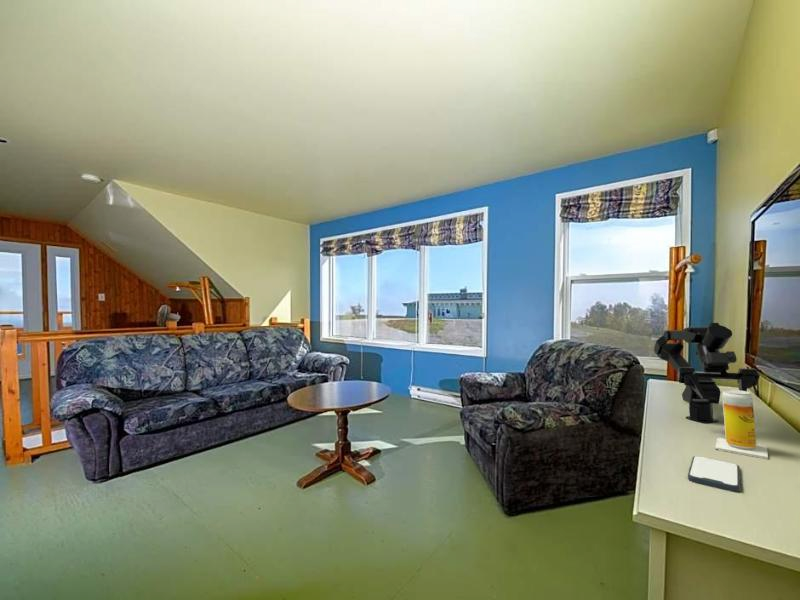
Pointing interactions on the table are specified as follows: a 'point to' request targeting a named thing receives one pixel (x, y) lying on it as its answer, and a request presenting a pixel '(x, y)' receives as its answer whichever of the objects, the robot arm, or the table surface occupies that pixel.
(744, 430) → the beer can
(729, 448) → the mat
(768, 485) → the table surface
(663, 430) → the table surface
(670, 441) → the table surface
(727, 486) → the phone case
